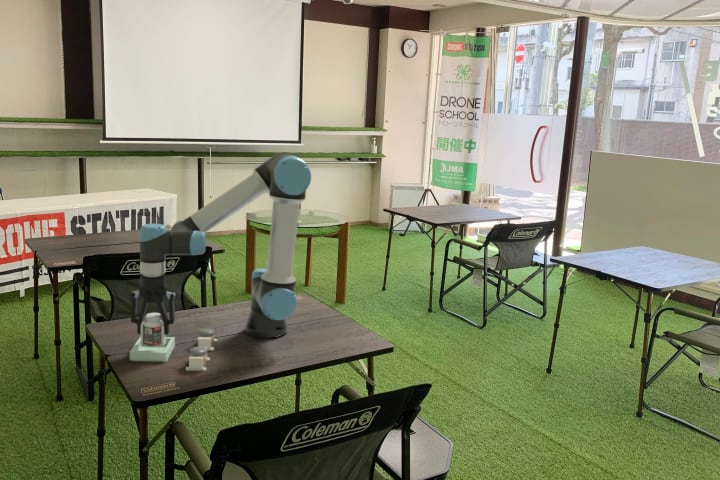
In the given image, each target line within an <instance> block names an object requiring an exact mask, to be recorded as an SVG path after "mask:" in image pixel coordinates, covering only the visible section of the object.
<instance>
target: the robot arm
mask: <svg viewBox="0 0 720 480" xmlns="http://www.w3.org/2000/svg"><path fill="white" fill-rule="evenodd" d="M252 170H253V171H252V174H251V175H249V176H247V177H246V178H245V179H243V180H242V181H240V182H239V183H237V184H236V185H234V186H233V187H231V188H230V189H228V190H227V191H226V192H224V193H222V194H220V195H219V196H218V197H216V198H215V199H213V200H212V201H210V202H209V203H207V204H206V205H204V206H203V207H202V208H200V209H198V210H197V211H195V212H194V213H192V214H191V215H190V216H188V217H187V218H185V219H183V220H179V221H176V222H175V223H174V224H173V225H172V226H171V230H170V231H169V230H167V229H166V226H165V225H164V224H162V223H147V224H144V225H141V227H140V230H139V231H140V232H139V233H140V234H139V261H140V262H139V263H140V264H139V265H140V266H139V273H140V279H139V280H140V281H139V283H140V285H139V286H140V287H139V289H138V290H132V291H131V293H130V294H129V296H130V298H131V309H130V310H131V312H130V313H131V314H130V315H131V316H130V322H131V323H132V324H136V325H137V326H136V327H137V328H136V330H137V331H136V334H137V335H140V337H141V345H143V344H144V323H145V321H144V318H145V316H146V312H147V308H148V306H149V304H151V303H153V304H156V306H157V307H158V310H159V313H160V314H161V321H162V323H163V324H162V326H161V345H163V346H164V344H165V343H166V337H167V336H168V335H169V333H170V325H173V324H175V323H174V322H175V321H176V314H175V313H176V312H175V297H176V295H177V293H176V292H175V291H173V292H172V291H168V289H167V286H166V285H167V283H166V282H167V281H166V279H167V278H166V277H167V276H166V275H167V274H165V273H166V272H167V270H166V267H167V265H166V260H167V259H166V256H197V255H204V253H205V252H206V241H207V240H206V233H208V232H209V231H211V230H212V229H214V228H215V227H217V226H218V225H219V224H221V223H222V222H224V221H225V220H227V219H229V218H230V217H231V216H233V215H235V214H236V213H237V212H239V211H241V210H242V209H243V208H245V207H246V206H249V204H251V203H252V202H254V201H255V200H256V199H259V198H260V197H261V196H263V195H264V194H269V198H271V199H272V201H273V203H272V214H271V220H270V221H271V223H270V224H271V225H270V231H269V242H268V251H267V253H268V254H267V262H266V268H265V267H264V268H256V269H254V270H253V271H252V273H251V278H250V279H251V290H250V291H251V293H250V297H251V298H250V311H249V314H248V317H247V320H246V323H245V326H244V331H245V333H246V334H247V335H248V336H251V337H253V338H257V337H258V338H257V339H270V338H269V337H276V336H279V335H282V334H284V333H286V332H287V333H288V331H287V330H288V322H287V318H289V317H291V316H292V315H293V314H294V312H296V309H297V306H298V300H297V296H296V294H295V293H296V291H295V290H296V284H297V282H296V281H297V278H296V277H295V276H294V275H293V268H294V259H295V251H296V241H297V232H298V223H299V215H300V208H301V207H300V205H301V203H303V202H304V201H305V200H306V196H307V195H306V194H307V189H309V187H310V184H311V182H312V172H311V168H310V167H309V165H308V164H307V163H306V161H305V160H303V158H301V157H299V156H296V155H293V154H291V153H288V152H280V153H276V154H274V155H273V156H271V157H270V158H268V159H267V160H265V161H264V162H262V163H261V164H260V165H259V166H257V167H256V168H254V169H252ZM140 296H141V298H142V299H143V301H142V304H141V308H140V312H139V314H138V303H139V301H138V300H139V297H140ZM166 296H167V299H168V313H167V310H166V306H165V303H164V302H165V301H164V297H166ZM287 333H286V334H287Z"/></svg>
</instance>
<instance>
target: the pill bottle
mask: <svg viewBox="0 0 720 480" xmlns="http://www.w3.org/2000/svg"><path fill="white" fill-rule="evenodd" d="M144 322H145V323H144V345H145V346H146V347H158V346H161V326H162V324H163V320H162V317H161V314H160V312H148V313H145V321H144Z"/></svg>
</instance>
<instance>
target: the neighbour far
mask: <svg viewBox="0 0 720 480" xmlns="http://www.w3.org/2000/svg"><path fill="white" fill-rule="evenodd" d="M215 332H216V331H215V329H213V328H200V329H199V330H198V338H199V337H211V347H214V346H215V342H214V339H215Z"/></svg>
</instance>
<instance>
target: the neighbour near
mask: <svg viewBox="0 0 720 480" xmlns="http://www.w3.org/2000/svg"><path fill="white" fill-rule="evenodd" d="M189 357H203V367H207V362H208V361H207V358H208V351H207V349H206V348H204V347H198V346H194V347H191V348H190V349H189Z"/></svg>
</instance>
